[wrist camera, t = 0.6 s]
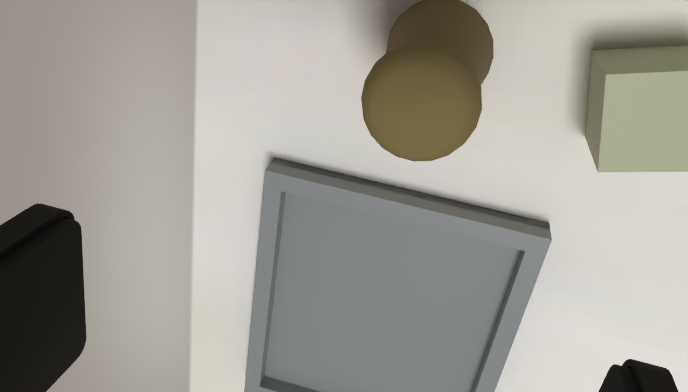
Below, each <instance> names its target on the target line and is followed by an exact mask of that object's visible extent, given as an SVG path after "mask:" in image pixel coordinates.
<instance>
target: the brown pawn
mask: <svg viewBox="0 0 688 392" xmlns="http://www.w3.org/2000/svg"><path fill="white" fill-rule="evenodd" d="M492 60H493V38H492V36H491V33H490V30H489V27H488V24H487V23H486V22H485V20H484V19H483V18H482V17H481V15H480V14H479V13H478V12H477V10H475V9H473V8H472V7H470V6H469V5H467V4H465V3H464V2H462V1H459V0H424V1H422V2H420V3H417V4H415V5H413V6H411V7H410V8H409V9H408V10H407V11H406V12H404V13H403V14H402V15H401V16H400V17H399V18H398V20H397V22H396V23H395V25H394V27H393V29H392V30H391V32H390V37H389V41H388V46H387V51H386V54H385V55H384V56H383V57H381V58H380V59H379V60H378V61H377V62H376V63H375V64H374V66H373V68H372V69H371V71H370V73H369V75H368V76H367V78H366V80H365V83H364V88H363V93H362V97H361V100H362V108H363V117H364V121H365V123H366V125H367V127H368V130H369V132H370V134H371V136H372V137H373V138H374V139H375V140H376V141H377V142H378V143H379V144H380V146H381V147H382V148H384V149H385V150H387V151H389V152H390V153H392V154H394V155H395V156H397V157H400V158H404V159H408V160H411V161H432V160H435V159H438V158H441V157H444V156H447V155H449V154H450V153H452V152H453V151H455V150H456V149H457V148H459V147H460V146H462V145H463V144H464V143H465V142H466V141H467V139H468V138H469V136H470V135H471V134H472V132H473V131H474V130H475V128H476V126H477V123H478V120H479V116H480V113H481V110H482V102H481V86H480V85H481V84H482V82H483V81H484V79H485V78H486V76H487V74H488V72H489V69H490V66H491V63H492Z"/></svg>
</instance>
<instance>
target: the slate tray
mask: <svg viewBox="0 0 688 392" xmlns="http://www.w3.org/2000/svg"><path fill="white" fill-rule="evenodd" d="M551 240H552V239H551V232H550V226H549V223H545V222H541V221H537V220H532V219H528V218H524V217H520V216H516V215H512V214H507V213H503V212H499V211H495V210H491V209H486V208H482V207H478V206H474V205H470V204H465V203H461V202H457V201H453V200H449V199H445V198H440V197H436V196H432V195H428V194H424V193H419V192H415V191H411V190H407V189H403V188H399V187H394V186H390V185H386V184H382V183H378V182H373V181H369V180H365V179H361V178H357V177H352V176H348V175H344V174H340V173H336V172H332V171H327V170H323V169H319V168H315V167H311V166H306V165H302V164H298V163H294V162H290V161H285V160H281V159H277V158H275V159H274V160H273V161H272V163H271V164H270V165H269V166H268V167H267V169H266V170H265V176H264V186H263V197H262V208H261V219H260V229H259V240H258V251H257V262H256V272H255V283H254V294H253V305H252V315H251V326H250V337H249V347H248V358H247V369H246V380H245V390H244V392H494V391H495V389H496V386H497V383H498V381H499V378H500V375H501V373H502V370H503V367H504V365H505V362H506V359H507V357H508V354H509V351H510V349H511V346H512V344H513V341H514V338H515V336H516V333H517V330H518V328H519V325H520V322H521V320H522V317H523V314H524V312H525V309H526V306H527V304H528V301H529V298H530V296H531V293H532V291H533V288H534V285H535V283H536V280H537V277H538V275H539V272H540V269H541V267H542V264H543V261H544V259H545V256H546V253H547V251H548V248H549V246H550V243H551Z"/></svg>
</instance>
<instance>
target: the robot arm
mask: <svg viewBox="0 0 688 392" xmlns="http://www.w3.org/2000/svg"><path fill="white" fill-rule="evenodd" d="M85 342H86V323H85V301H84V281H83V257H82V235H81V226H80V224H79V223H78V222H77V221H75V220H74V216H73V214H72V213H71V212H69V211H66V210H63V209H59V208H55V207H52V206H48V205H44V204H35V205H33V206H31V207H29V208H28V209H26V210H24V211H23V212H21V213H20V214H18V215H16V216H15V217H13V218H12V219H10V220H8V221H7V222H5V223H3V224H2V225H0V392H46V391H47V390H48V389H49V388H50V387H51V386H52V385H53V384H54V383H55V382H56V381H57V379H58V378H59V377H60V376H61V375H62V374H63V373H64V372H65V371H66V370H67V369H68V368H69V367H70V366H71V365H72V364H73V362H75V361H76V359H77V358H78V357H79V356H80V354H81V353H82V351H83V349H84V346H85ZM599 392H678V390H677V387H676V385H675V382H674V380H673V377H672V375H671V373H670V372H669V370H667V369H666V368H663V367H659V366H655V365H651V364H648V363H644V362H640V361H636V360H632V359H628V360H626V361H625V362H624V363H623V365H622V366H619V365H616V364H615V365H612V366H611V367H610V369H609V371H608V373H607V375H606V377H605V379H604V381H603V384H602V386H601V388H600V390H599Z"/></svg>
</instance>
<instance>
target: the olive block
mask: <svg viewBox="0 0 688 392" xmlns="http://www.w3.org/2000/svg"><path fill="white" fill-rule="evenodd" d="M585 138H586V140H587V143H588V146H589V149H590V152H591V154H592V157H593V160H594V163H595V165H596V168H597V171H598V172H683V171H688V45H677V46H658V47H640V48H621V49H603V50H591V63H590V77H589V92H588V106H587V120H586V134H585Z"/></svg>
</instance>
